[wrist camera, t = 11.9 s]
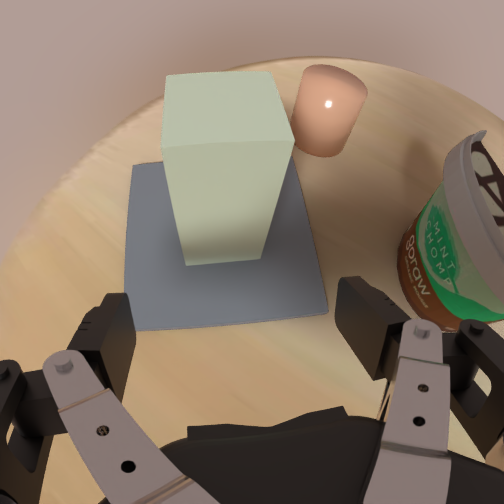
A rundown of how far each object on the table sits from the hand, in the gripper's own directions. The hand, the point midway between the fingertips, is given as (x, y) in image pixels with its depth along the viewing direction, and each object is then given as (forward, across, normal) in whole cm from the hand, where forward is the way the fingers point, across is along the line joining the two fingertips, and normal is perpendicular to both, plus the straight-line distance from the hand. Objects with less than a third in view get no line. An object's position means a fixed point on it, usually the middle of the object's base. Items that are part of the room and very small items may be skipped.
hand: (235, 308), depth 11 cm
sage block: (+9, 0, 0) cm, 9 cm away
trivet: (+10, 0, 0) cm, 10 cm away
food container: (+6, -14, +4) cm, 16 cm away
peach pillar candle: (+16, -9, -6) cm, 19 cm away
